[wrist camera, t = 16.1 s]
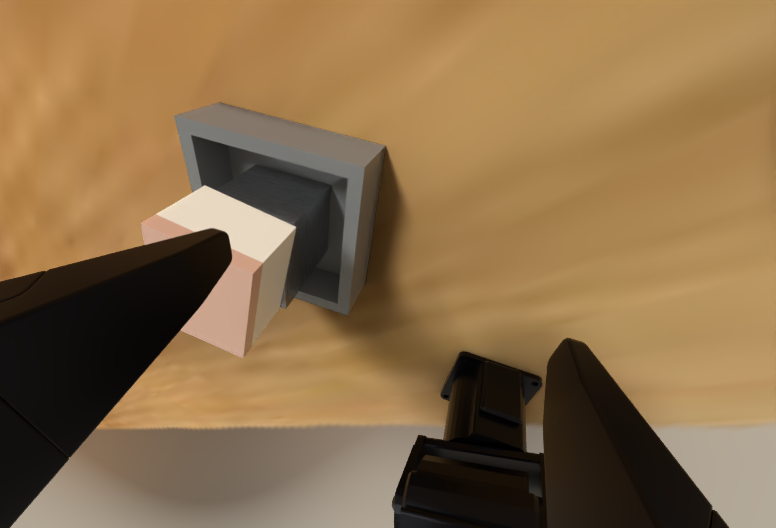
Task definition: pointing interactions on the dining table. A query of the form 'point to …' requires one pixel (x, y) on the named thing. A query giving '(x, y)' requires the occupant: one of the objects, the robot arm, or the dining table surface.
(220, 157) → the tote
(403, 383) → the dining table surface
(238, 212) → the pinkish brown block
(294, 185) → the metal box
